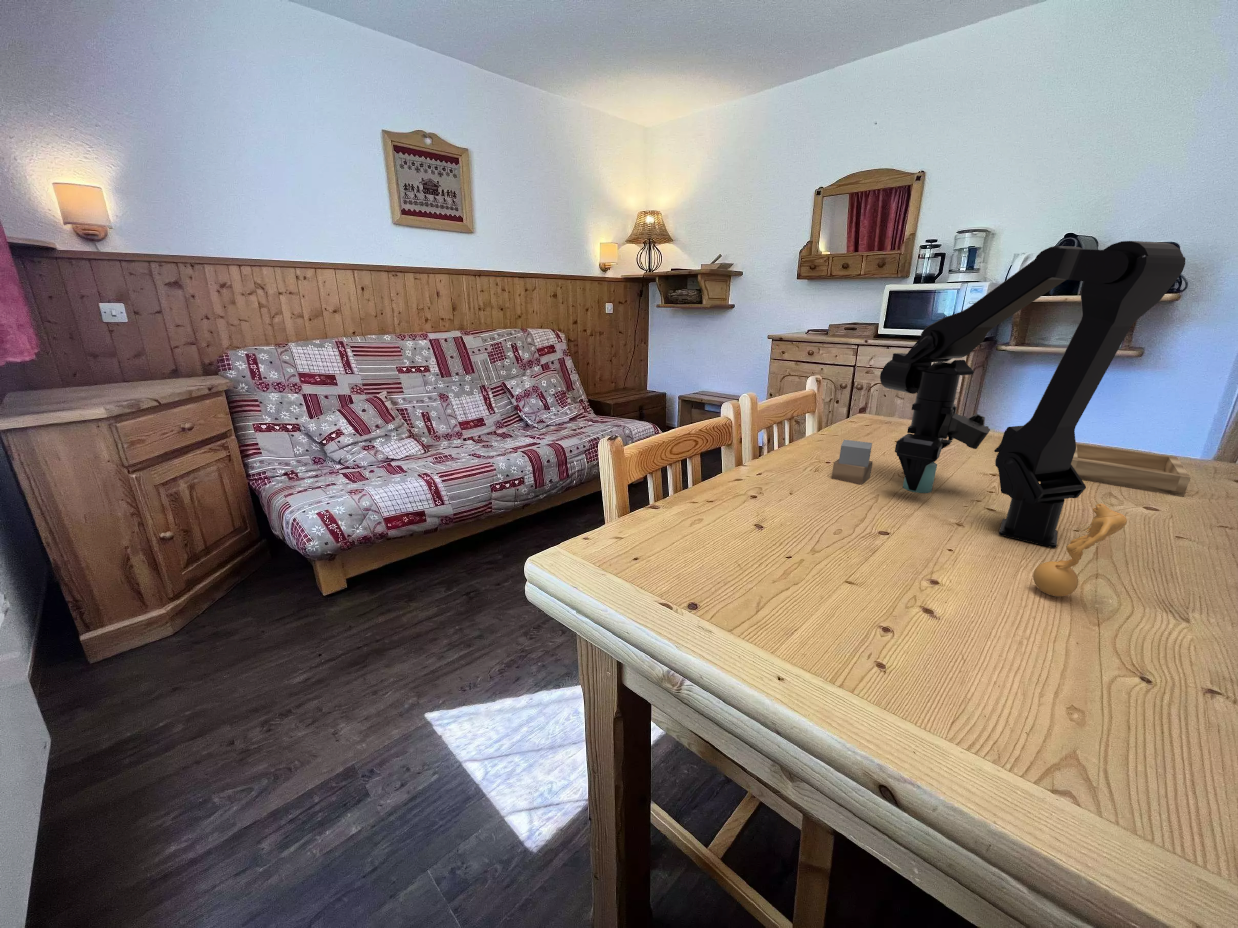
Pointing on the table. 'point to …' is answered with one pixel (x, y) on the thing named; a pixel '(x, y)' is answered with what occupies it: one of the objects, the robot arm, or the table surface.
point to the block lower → (851, 472)
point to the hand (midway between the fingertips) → (918, 483)
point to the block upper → (855, 453)
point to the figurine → (1077, 554)
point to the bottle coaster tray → (1131, 469)
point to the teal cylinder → (925, 480)
